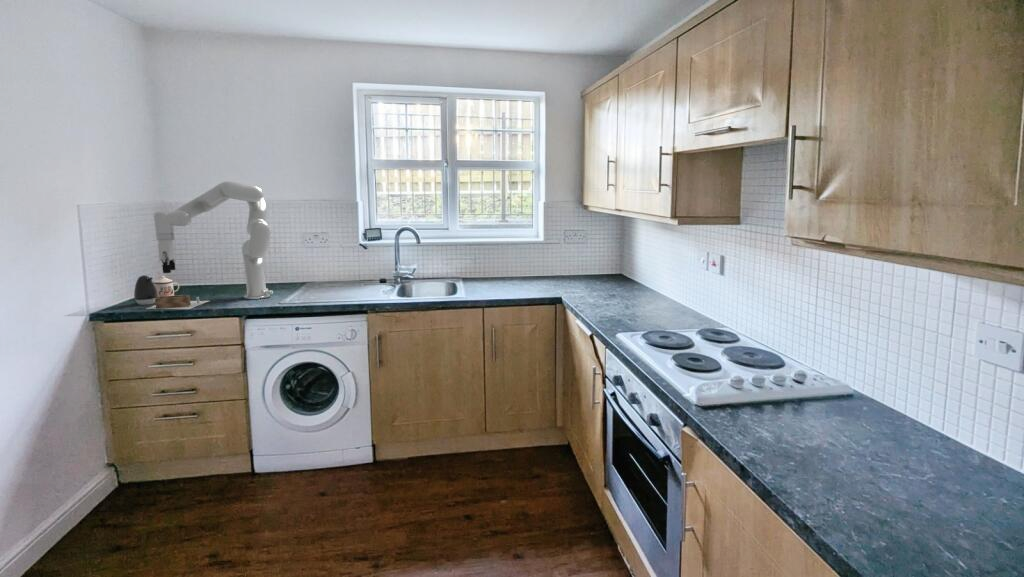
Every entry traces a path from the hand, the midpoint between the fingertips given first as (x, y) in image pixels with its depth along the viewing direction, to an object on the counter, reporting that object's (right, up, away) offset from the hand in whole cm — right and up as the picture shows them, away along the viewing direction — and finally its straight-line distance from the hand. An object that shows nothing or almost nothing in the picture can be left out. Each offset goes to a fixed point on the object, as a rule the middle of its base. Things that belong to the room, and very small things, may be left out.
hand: (169, 271), depth 275 cm
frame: (0, -18, +3) cm, 18 cm away
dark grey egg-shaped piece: (-18, -17, +10) cm, 27 cm away
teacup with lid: (-19, -13, +29) cm, 37 cm away
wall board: (0, -17, +7) cm, 19 cm away
